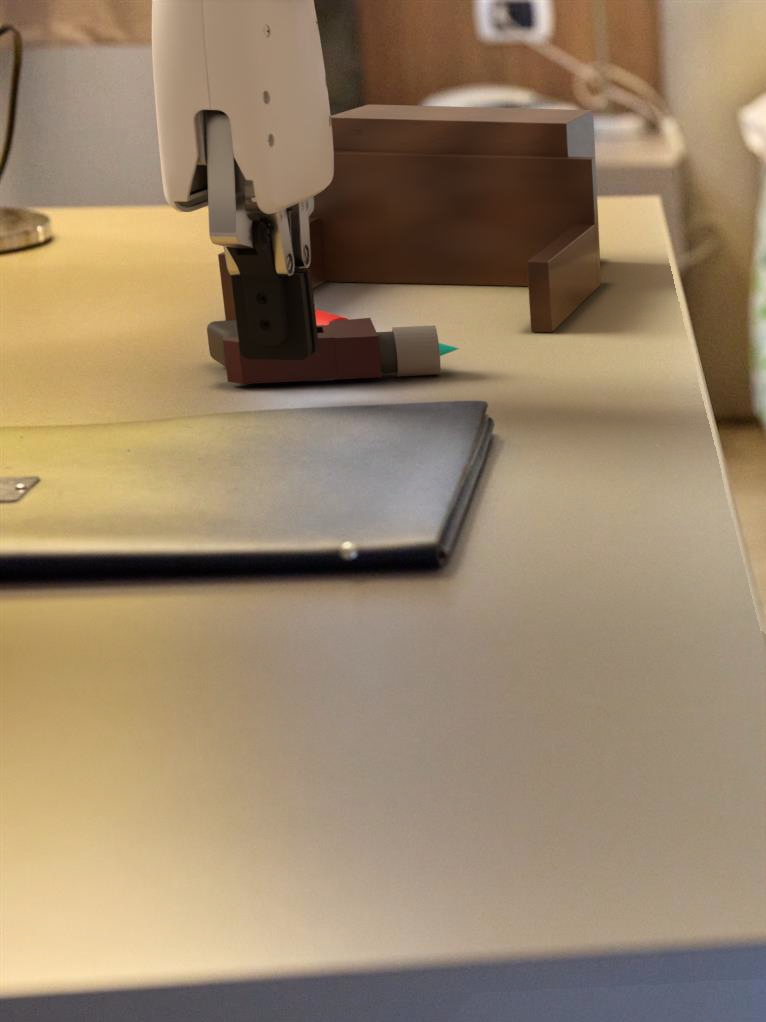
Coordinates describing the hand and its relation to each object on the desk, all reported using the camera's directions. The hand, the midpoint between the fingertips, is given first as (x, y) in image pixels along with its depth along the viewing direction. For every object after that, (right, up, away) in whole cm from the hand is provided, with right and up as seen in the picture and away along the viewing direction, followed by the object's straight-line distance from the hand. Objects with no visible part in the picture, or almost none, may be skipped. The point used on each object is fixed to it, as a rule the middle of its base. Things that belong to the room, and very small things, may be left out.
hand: (280, 355), depth 93 cm
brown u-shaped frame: (-1, +9, +30) cm, 31 cm away
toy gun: (0, +1, +9) cm, 9 cm away
